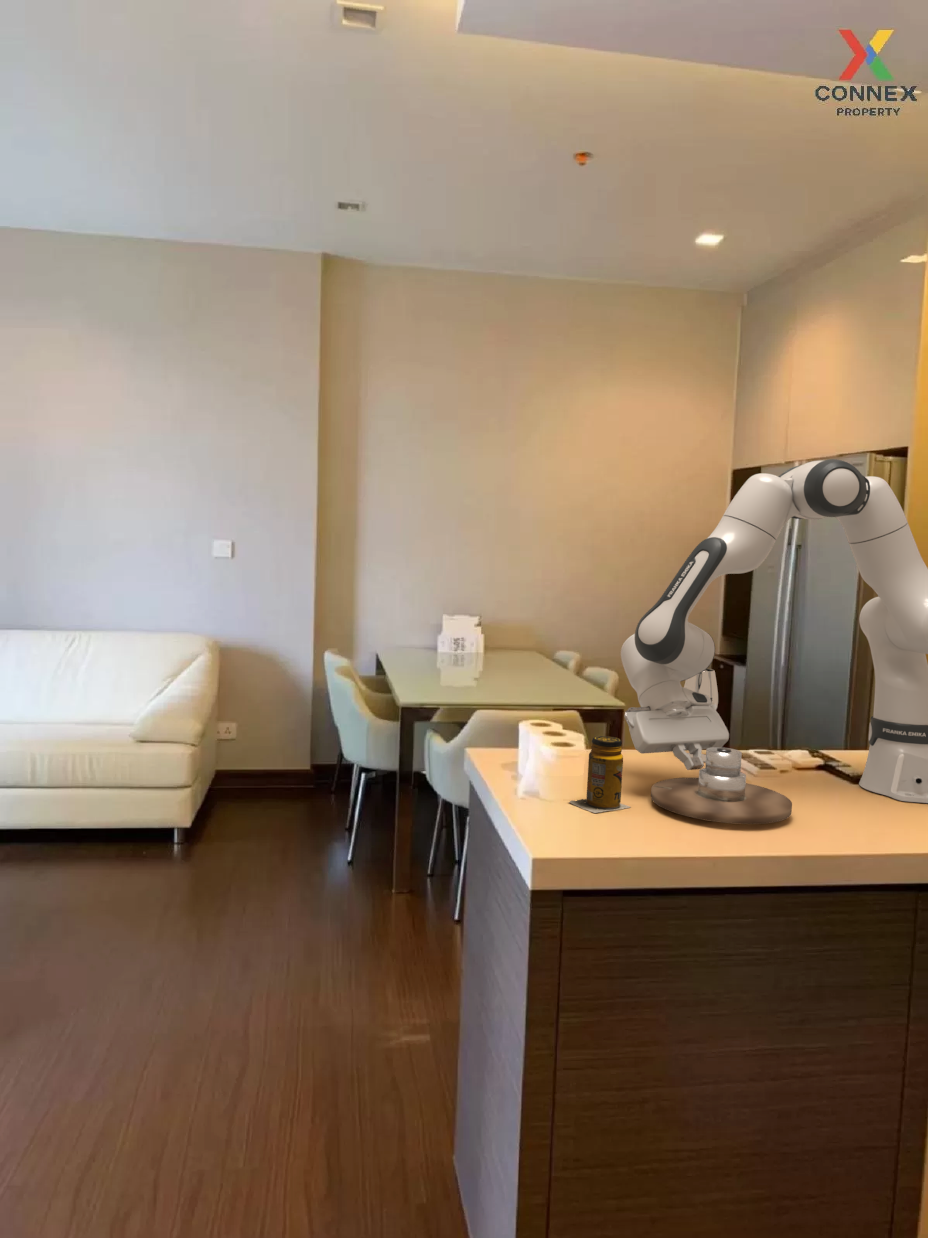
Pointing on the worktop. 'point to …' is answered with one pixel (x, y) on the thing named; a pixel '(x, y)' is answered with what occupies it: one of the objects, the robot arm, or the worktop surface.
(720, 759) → the stacked silver spool
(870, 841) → the worktop surface
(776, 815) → the disc
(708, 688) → the wineglass
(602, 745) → the condiment
